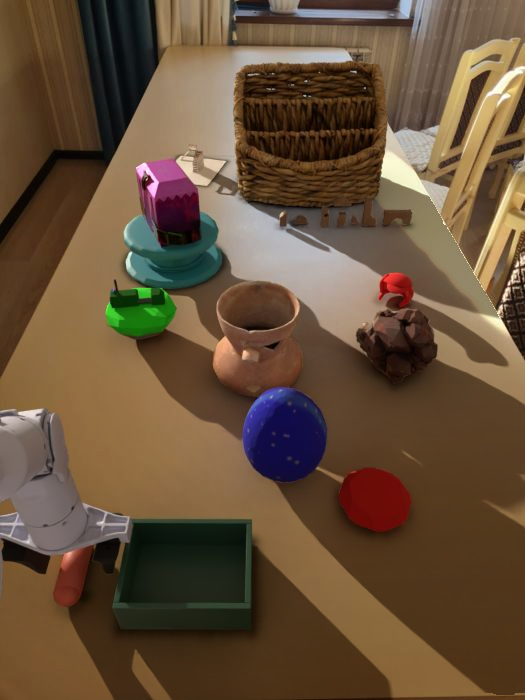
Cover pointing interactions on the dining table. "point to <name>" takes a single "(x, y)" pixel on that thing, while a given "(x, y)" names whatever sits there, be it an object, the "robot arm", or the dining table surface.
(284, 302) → the ceramic jug
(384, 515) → the gemstone
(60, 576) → the red capsule pill
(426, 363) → the mineral specimen
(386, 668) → the dining table surface
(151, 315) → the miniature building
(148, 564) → the bin
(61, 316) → the dining table surface
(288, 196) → the basket
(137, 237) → the decorative object
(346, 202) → the wooden blocks
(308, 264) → the dining table surface
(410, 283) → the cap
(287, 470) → the ornament
